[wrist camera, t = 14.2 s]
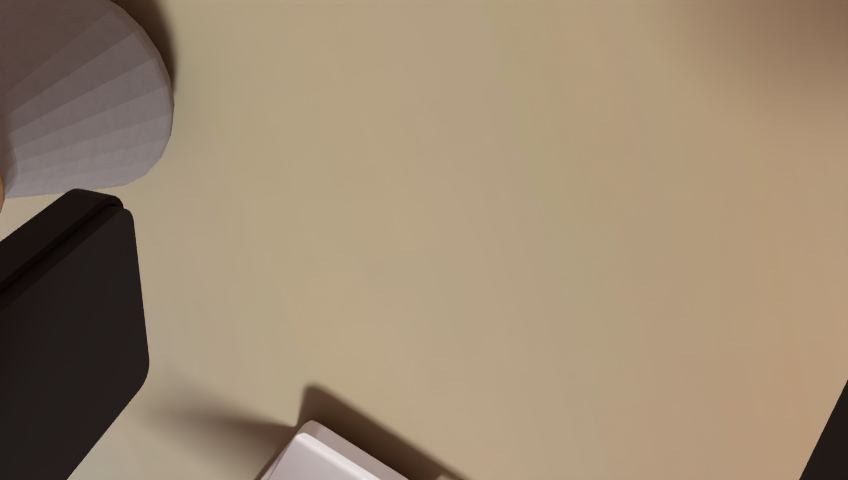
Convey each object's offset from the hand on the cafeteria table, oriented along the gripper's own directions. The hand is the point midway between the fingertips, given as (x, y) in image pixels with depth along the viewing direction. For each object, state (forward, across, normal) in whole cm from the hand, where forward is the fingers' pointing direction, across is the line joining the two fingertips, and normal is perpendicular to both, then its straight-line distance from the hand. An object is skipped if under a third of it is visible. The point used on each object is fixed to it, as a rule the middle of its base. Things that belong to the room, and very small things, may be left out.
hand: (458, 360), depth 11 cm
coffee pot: (+31, +28, +15) cm, 44 cm away
